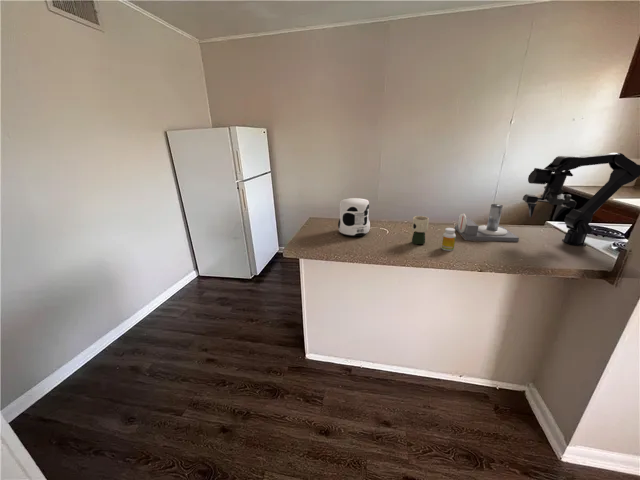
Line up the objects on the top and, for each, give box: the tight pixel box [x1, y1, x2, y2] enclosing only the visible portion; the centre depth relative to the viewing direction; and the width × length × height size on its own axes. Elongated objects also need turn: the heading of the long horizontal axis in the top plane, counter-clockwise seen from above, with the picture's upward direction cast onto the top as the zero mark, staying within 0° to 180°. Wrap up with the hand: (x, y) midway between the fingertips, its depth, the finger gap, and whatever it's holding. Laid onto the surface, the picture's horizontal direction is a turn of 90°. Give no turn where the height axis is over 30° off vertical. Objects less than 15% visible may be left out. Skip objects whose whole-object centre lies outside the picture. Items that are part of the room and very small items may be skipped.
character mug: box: [411, 215, 430, 245], centre depth 131 cm, size 11×7×13 cm, turn 169°
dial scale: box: [454, 213, 520, 242], centre depth 140 cm, size 24×18×11 cm
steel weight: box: [486, 203, 504, 231], centre depth 138 cm, size 5×5×13 cm
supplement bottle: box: [440, 227, 457, 252], centre depth 124 cm, size 5×5×10 cm
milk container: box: [337, 197, 371, 237], centre depth 146 cm, size 17×17×18 cm
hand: (541, 218), depth 127 cm, fingers open, 9 cm apart
